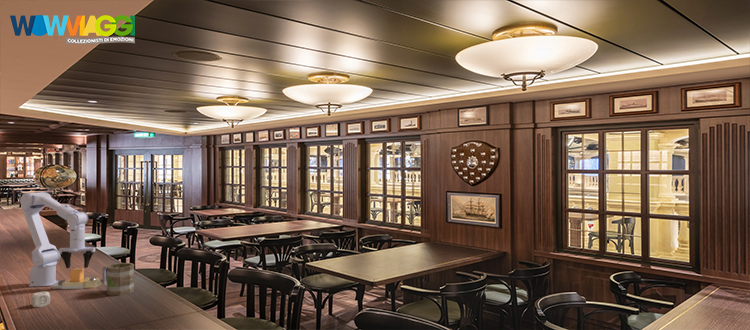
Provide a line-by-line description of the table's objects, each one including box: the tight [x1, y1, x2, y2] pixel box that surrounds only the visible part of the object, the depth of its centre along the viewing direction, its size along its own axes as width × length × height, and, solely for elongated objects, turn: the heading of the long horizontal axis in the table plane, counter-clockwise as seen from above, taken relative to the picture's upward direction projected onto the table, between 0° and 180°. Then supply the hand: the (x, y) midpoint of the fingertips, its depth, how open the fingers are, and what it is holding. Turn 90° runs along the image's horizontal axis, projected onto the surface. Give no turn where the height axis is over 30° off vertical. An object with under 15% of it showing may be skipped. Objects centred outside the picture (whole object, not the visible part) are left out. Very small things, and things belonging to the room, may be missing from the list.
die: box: [31, 291, 51, 308], centre depth 178 cm, size 5×5×5 cm
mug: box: [102, 262, 135, 297], centre depth 197 cm, size 16×11×12 cm
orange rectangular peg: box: [69, 267, 85, 282], centre depth 204 cm, size 4×4×8 cm
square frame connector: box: [51, 276, 102, 290], centre depth 204 cm, size 18×8×4 cm, turn 100°
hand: (77, 267), depth 204 cm, fingers open, 7 cm apart
